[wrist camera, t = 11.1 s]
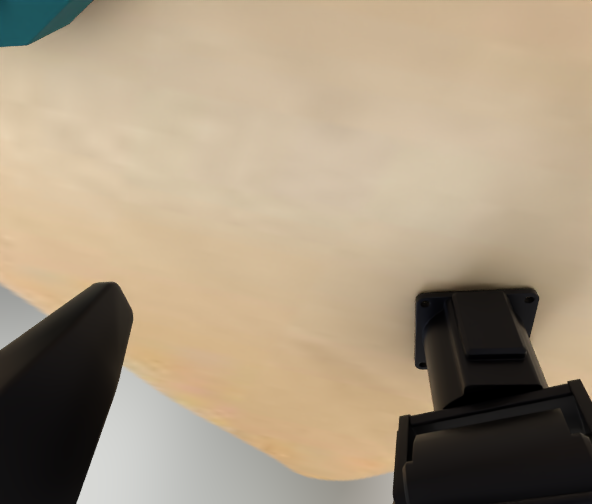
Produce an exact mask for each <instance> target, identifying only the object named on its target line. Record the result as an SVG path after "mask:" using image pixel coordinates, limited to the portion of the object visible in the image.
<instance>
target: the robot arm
mask: <svg viewBox="0 0 592 504" xmlns="http://www.w3.org/2000/svg"><path fill="white" fill-rule="evenodd" d="M527 297H529V298H527ZM423 301H427V302H423ZM538 302H539V296H538V294H537V292H536V291H535V290H534V289H530V288H525V289H502V290H479V291H456V292H433V293H421V294H419V295H418V296H417V297H416V299H415V355H414V360H415V366H416V367H417V368H418V369H427V370H428V376H429V382H430V388H431V394H432V401H433V407H434V411H432V412H427V413H423V414H418V415H413V416H411V415H410V414H409V415H404V416H400V417H399V429H398V431H397V440H396V454H395V468H394V482H393V498H394V501H393V504H592V401H591V399H590V398H589V396H588V394H587V392H586V390H585V388H584V386H583V384H582V382H581V380H580V379H577V380H572V381H567V382H568V384H563V385H558V386H553V387H548V385H547V382H546V380H545V377H544V375H543V372H542V370H541V367H540V365H539V362H538V360H537V357H536V355H535V352H534V349H533V347H532V344H531V342H530V339H529V338H530V334H531V330H532V326H533V322H534V318H535V314H536V310H537V306H538ZM132 323H133V312H132V309H131V307H130V305H129V303H128V301H127V299H126V297H125V296H124V294H123V292H122V290H121V288H120V286H119V285H118V284H117V283H115V282H99V283H95V284H93V285H91V286H90V287H88V288H87V289H86V290H84V291H83V292H81V293H80V294H79V295H77V296H76V297H74V298H73V299H72V300H70V301H69V302H67V303H66V304H65V305H63V306H62V307H60V308H59V309H58V310H56V311H55V312H53V313H52V314H51V315H49V316H48V317H46V318H45V319H44V320H42V321H41V322H39V323H38V324H36V325H35V326H34V327H32V328H31V329H29V330H28V331H27V332H25V333H24V334H22V335H21V336H20V337H18V338H17V339H16V340H14V341H13V342H11V343H10V344H8V345H7V346H6V347H4V348H3V349H1V350H0V504H76V502H77V500H78V497H79V494H80V492H81V489H82V486H83V482H84V480H85V477H86V475H87V472H88V469H89V466H90V463H91V460H92V458H93V455H94V452H95V449H96V446H97V443H98V441H99V438H100V435H101V432H102V429H103V426H104V424H105V421H106V418H107V415H108V412H109V409H110V406H111V404H112V401H113V398H114V395H115V392H116V389H117V385H118V382H119V378H120V374H121V369H122V365H123V361H124V357H125V353H126V348H127V344H128V340H129V336H130V332H131V327H132Z"/></svg>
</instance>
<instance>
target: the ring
mask: <svg viewBox="0 0 592 504" xmlns="http://www.w3.org/2000/svg"><path fill="white" fill-rule="evenodd" d="M92 1H93V0H0V47H8V46H23V45H29V44H31V43H33V42H35V41H37V40H39V39H41V38H43V37H45V36H47V35H49V34H50V33H52V32H54V31H56V30H58V29H60V28H62V27H64V26H66V25H68V24H70V23H71V22H72V21H73V20H74V19H75V18H76V17H77V16H78V15H79V14H80V13H81V12H82V11H83V10H84V9H85V8H86V7H87V6H88V5H89V4H90V3H91V2H92Z"/></svg>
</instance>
